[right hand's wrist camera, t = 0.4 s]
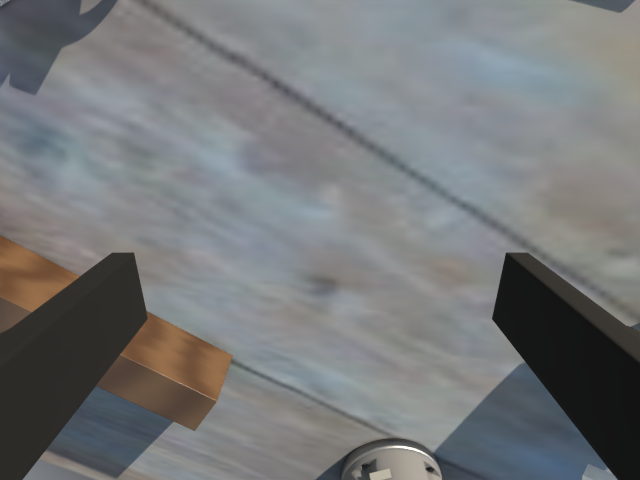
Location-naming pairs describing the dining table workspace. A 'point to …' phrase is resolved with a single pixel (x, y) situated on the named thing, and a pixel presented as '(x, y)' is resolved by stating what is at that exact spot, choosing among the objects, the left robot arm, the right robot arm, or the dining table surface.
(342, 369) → the dining table surface
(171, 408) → the beam
